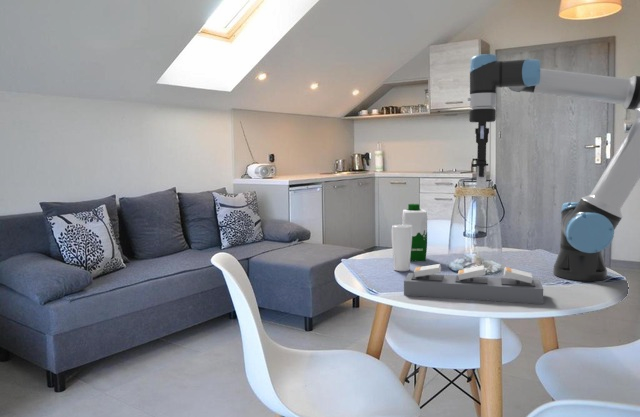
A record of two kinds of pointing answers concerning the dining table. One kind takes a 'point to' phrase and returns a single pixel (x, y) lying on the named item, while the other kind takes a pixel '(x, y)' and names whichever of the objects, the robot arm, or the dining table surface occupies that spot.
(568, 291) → the dining table surface
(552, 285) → the dining table surface
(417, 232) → the milk carton
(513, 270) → the rocker right
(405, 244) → the drinking glass
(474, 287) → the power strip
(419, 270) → the rocker left
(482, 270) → the rocker middle
